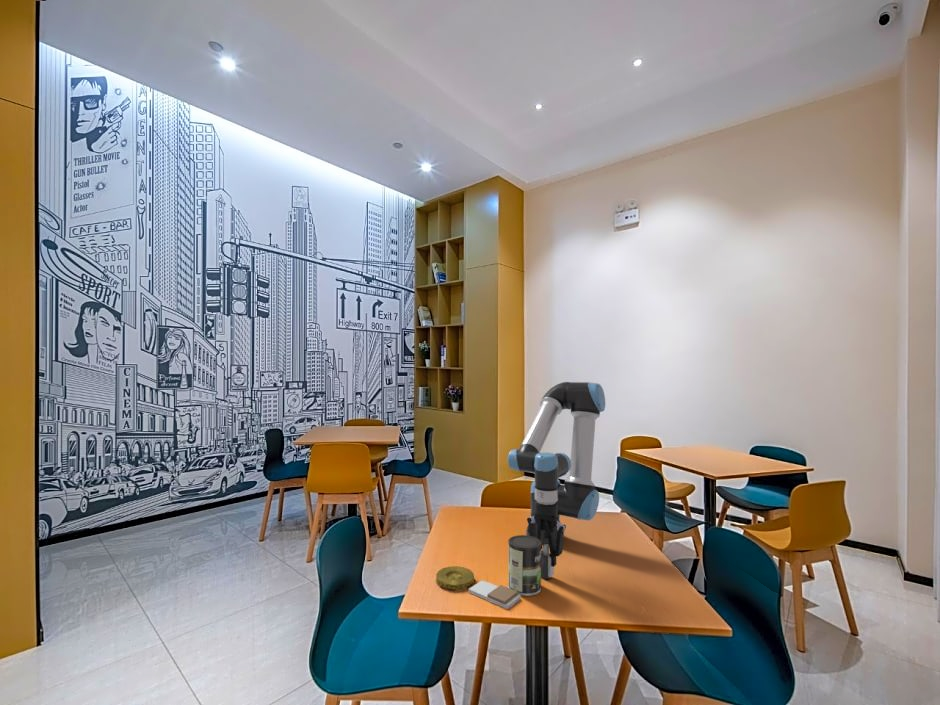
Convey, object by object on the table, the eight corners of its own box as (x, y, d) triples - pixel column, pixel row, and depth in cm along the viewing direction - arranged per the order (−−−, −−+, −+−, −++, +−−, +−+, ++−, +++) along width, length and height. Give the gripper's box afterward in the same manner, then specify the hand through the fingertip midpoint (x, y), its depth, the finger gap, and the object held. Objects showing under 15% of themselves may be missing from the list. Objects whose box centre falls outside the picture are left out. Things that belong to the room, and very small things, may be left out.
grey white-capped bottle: (543, 572, 137) (543, 542, 137) (552, 576, 135) (553, 545, 135) (538, 576, 134) (538, 545, 135) (548, 580, 132) (548, 548, 133)
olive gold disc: (479, 577, 134) (479, 570, 134) (464, 595, 123) (465, 587, 123) (446, 570, 139) (446, 563, 139) (429, 586, 128) (429, 579, 128)
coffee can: (543, 582, 131) (543, 537, 132) (538, 599, 121) (538, 550, 122) (511, 576, 134) (512, 532, 135) (504, 592, 124) (504, 545, 125)
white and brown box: (482, 583, 130) (482, 577, 130) (520, 599, 121) (520, 592, 121) (468, 592, 124) (468, 586, 124) (507, 609, 115) (507, 602, 115)
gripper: (519, 499, 137) (519, 570, 137) (563, 509, 128) (563, 586, 127) (530, 493, 143) (530, 562, 142) (573, 503, 134) (573, 576, 133)
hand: (546, 573), depth 135 cm, fingers closed on grey white-capped bottle, 3 cm apart
